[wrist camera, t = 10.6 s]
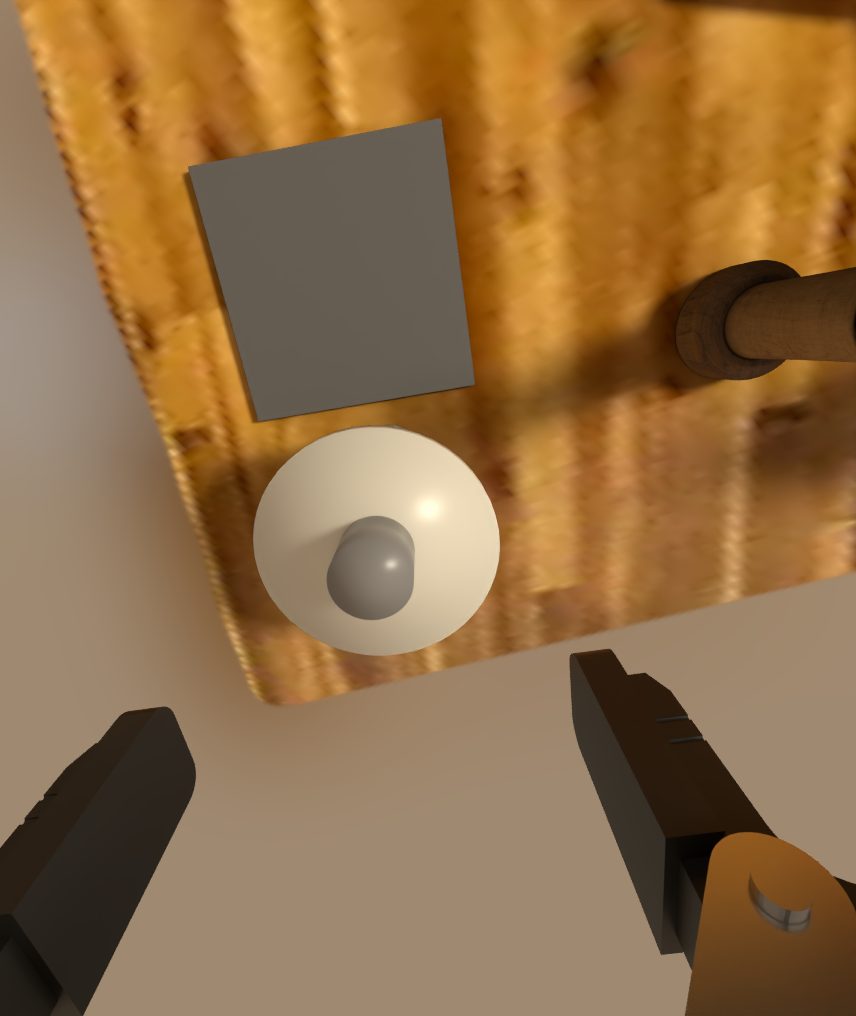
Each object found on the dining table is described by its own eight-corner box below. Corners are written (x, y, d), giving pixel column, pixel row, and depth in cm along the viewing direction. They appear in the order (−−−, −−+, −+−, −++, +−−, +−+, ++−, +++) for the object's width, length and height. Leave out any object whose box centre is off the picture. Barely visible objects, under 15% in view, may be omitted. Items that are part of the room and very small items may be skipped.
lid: (228, 449, 24) (186, 469, 20) (479, 404, 23) (492, 416, 19) (294, 660, 28) (271, 715, 24) (509, 626, 28) (525, 677, 23)
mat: (192, 170, 26) (187, 166, 26) (440, 122, 26) (441, 118, 25) (260, 420, 30) (258, 421, 30) (474, 384, 30) (475, 384, 29)
